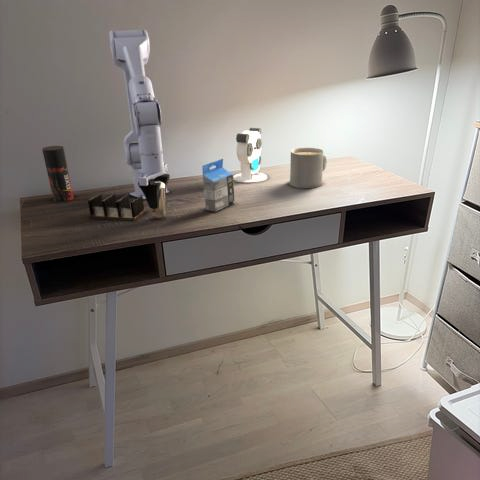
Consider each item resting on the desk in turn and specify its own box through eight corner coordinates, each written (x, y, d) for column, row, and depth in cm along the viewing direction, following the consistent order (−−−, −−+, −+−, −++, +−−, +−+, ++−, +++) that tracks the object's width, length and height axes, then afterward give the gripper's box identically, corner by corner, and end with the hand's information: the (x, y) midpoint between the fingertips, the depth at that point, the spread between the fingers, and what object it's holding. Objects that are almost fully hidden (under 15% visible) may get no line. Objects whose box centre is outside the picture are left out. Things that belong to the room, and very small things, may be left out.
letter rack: (90, 218, 139) (87, 200, 136) (102, 210, 145) (99, 192, 142) (134, 221, 136) (131, 202, 134) (145, 212, 142) (142, 194, 139)
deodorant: (69, 201, 153) (58, 150, 145) (50, 201, 153) (38, 150, 145) (76, 195, 158) (66, 145, 150) (57, 195, 158) (46, 145, 150)
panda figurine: (258, 184, 162) (257, 135, 155) (226, 181, 167) (224, 133, 159) (272, 175, 171) (272, 128, 164) (242, 172, 176) (240, 126, 168)
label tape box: (215, 212, 140) (213, 167, 134) (204, 210, 142) (201, 165, 136) (235, 203, 146) (233, 160, 140) (224, 201, 148) (221, 158, 142)
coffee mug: (301, 189, 156) (302, 156, 151) (284, 182, 163) (284, 150, 158) (336, 183, 161) (339, 150, 156) (318, 176, 169) (320, 144, 164)
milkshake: (157, 211, 140) (153, 175, 135) (171, 215, 137) (167, 177, 132) (145, 216, 137) (140, 178, 132) (159, 219, 134) (155, 181, 129)
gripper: (147, 146, 136) (153, 196, 143) (124, 159, 124) (132, 213, 131) (172, 146, 134) (177, 197, 141) (151, 160, 122) (158, 214, 129)
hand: (157, 205), depth 136 cm, fingers closed on milkshake, 4 cm apart
